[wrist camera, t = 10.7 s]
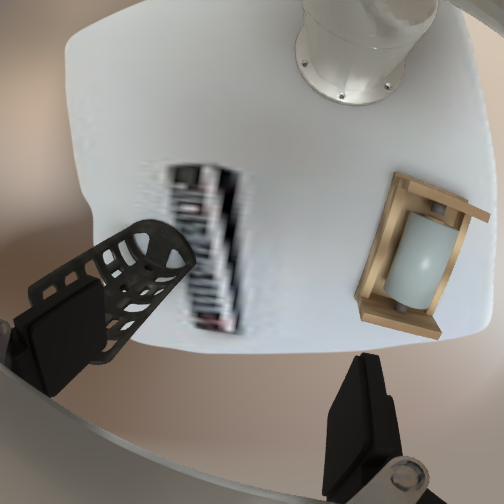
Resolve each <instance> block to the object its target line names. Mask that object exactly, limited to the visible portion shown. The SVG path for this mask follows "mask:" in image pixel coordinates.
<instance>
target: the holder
mask: <svg viewBox="0 0 504 504" xmlns="http://www.w3.org/2000/svg"><path fill="white" fill-rule="evenodd" d="M137 233H147V234H148V235H149V239H150V240H149V244H148V249H147V253H146V256H145V257H144V256H143V255H142V254H141V252H140V251H139V250H138V248H137V246H136V244H135V242H134V239H133V234H137ZM123 240H124V241H125V243H126V245H127V247H128V250H129V252H130V254H131V256H132V257H133V259H134V260H135V262H136V263H135V264H133V265H132V266H129V265H128V264H127V263H126V262H125V260H124V259H123V257H122V255H121V253H120V250H119V247H118V244H119V243H120V242H122V241H123ZM108 249H110V251H111V253H112V255H113V258H114V261H112V262H111V263H109V264H107V265H106V264H105V262H104V260H103V252H105V251H106V250H108ZM171 249H175V250H176V251H178V253H179V254H180V255H181V257H182V258H183V260H184V262H185V263H186V266H184V267H182V268H179V269H166V268H164V267H165V265H166V262H167V259H168V257H169V254H170V251H171ZM92 259H93V261H94V262H95V265H96V267H97V269H98V271H99V274H100V275H101V277H102V279H103V281H104V282H105V284H106V286H104V304H105V319H106V326H107V325H108V324H109V323H110V322H111V321H112V320H117V321H118V322H117V323H116V324H115V325H113V326H112V327H111V328H109V329H108V328H106V331H107V340H118V341H117V342H116V343H115V345H114V346H113V347H112V348H111V349H110V350H108V351H106V352H100V353H99V354H98V355H97V356H96V357H95V358H94V359H93V360H92V361H91V362H90V363H89V364H93V365H101V364H106V363H108V362H110V361H111V360H112V359H113V358H114V357H115V355H116V354H117V353H118V352H119V351H120V349H121V348H122V347H123V346H124V345H125V343H126V342H127V341H128V340H129V339H130V338H131V336H132V335H133V334H134V333H135V332H136V331H137V329H138V328H139V327H140V326H141V325H142V324H143V323H144V321H145V320H146V319H147V318H148V317H149V316H150V314H151V313H152V312H153V311H154V310H155V309H156V308H157V306H158V305H159V304H160V303H161V302H162V301H163V300H164V298H165V297H166V296H167V295H168V294H169V293H170V292H171V290H172V289H173V288H174V287H175V286H176V285H177V284H178V283H179V282H180V281H181V279H182V278H183V277H184V276H185V275H186V274H187V273H188V272H189V271H190V270H191V269H192V268H193V266H194V265H195V264H196V260H195V256H194V254H193V252H192V250H191V248H190V247H189V245H188V244H187V242H186V241H185V240H184V238H183V237H182V236H181V235H180V234H178V233H177V232H176V231H175V230H174V229H172V228H171V227H169V226H167V225H165V224H163V223H162V222H158V221H154V220H142V221H139V222H136V223H134V224H132V225H131V226H129V227H128V228H126V229H124V230H123V231H121V232H119V233H117V234H115V235H114V236H112V237H110V238H108V239H106V240H105V241H103V242H101V243H99V244H98V245H96V246H94V247H93V248H91V249H89V250H88V251H86V252H84V253H82V254H81V255H79V256H77V257H76V258H74V259H72V260H71V261H69V262H67V263H66V264H64V265H62V266H61V267H59V268H57V269H56V270H54V271H53V272H51V273H49V274H48V275H46V276H45V277H43V278H42V279H40V280H38V281H37V282H35V283H34V284H32V285H31V286H30V287H29V288H28V299H29V302H30V304H31V306H32V307H33V306H35V305H36V304H38V303H39V302H41V301H43V291H45V290H46V289H47V288H49V287H50V286H52V285H53V286H54V287H55V288H56V290H57V291H59V290H61V289H62V288H64V287H66V285H65V277H66V276H67V275H69V274H70V273H72V272H73V271H74V272H75V273H76V275H77V278H78V279H79V278H81V277H83V276H84V275H87V274H86V272H85V268H84V267H85V264H86V263H87V262H89V261H91V260H92ZM117 270H119V271H121V272H122V273H121V274H120V275H119V276H117V277H116V278H114V277H113V276H112V275H111V274H112V273H114V272H115V271H117ZM174 276H176V277H175V278H173V279H172V280H169V281H166V282H155V280H156V279H157V278H160V277H164V278H168V277H174ZM161 289H164V290H163V291H162V292H160V293H159V294H157V295H154V294H155V293H156V292H157V291H159V290H161ZM123 290H125V291H127V292H122V291H123ZM144 290H149V291H148V292H147V293H146V294H145V295H140V294H141V293H142V292H143V291H144ZM129 304H138V305H140V304H150V305H149V306H148V307H147V308H146V309H144V310H143V311H139V312H127V311H124V309H125V308H126V307H127V306H128V305H129ZM131 321H135V322H134V323H133V324H132V325H131V326H130V327H129V328H127V329H126V330H120V329H121V328H122V327H123V326H124V325H125V324H126V323H128V322H131Z"/></svg>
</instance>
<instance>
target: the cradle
mask: <svg viewBox="0 0 504 504" xmlns="http://www.w3.org/2000/svg"><path fill="white" fill-rule="evenodd" d="M410 211H414V212H418V213H421V214H424V215H430V216H432V217H435V218H437V219H440V220H442V221H444V222H445V223H446V224H448V225H450V226H452V227H454V228H456V229H457V230H459V233H458V236H457V239H456V242H455V245H454V247H453V250H452V253H451V256H450V258H449V261H448V263H447V266H446V268H445V271H444V273H443V276H442V278H441V281H440V283H439V285H438V288H437V290H436V292H435V295H434V297H433V299H432V301H431V303H430V306H429V307H428V308H427V309H416V308H412V307H409V306H406V305H404V304H402V303H400V302H398V301H396V300H394V299H393V298H392V297H390V296H389V295H388V294H387V293H386V292H385V291H384V289H383V286H384V284H385V281H386V279H387V276H388V273H389V271H390V268H391V266H392V263H393V260H394V257H395V255H396V252H397V249H398V246H399V243H400V241H401V238H402V235H403V232H404V229H405V226H406V223H407V219H408V216H409V213H410ZM472 216H473V217H475V218H478V219H480V220H482V221H484V222H487V223H488V221H489V218H490V213H488V212H485V211H483V210H481V209H479V208H477V207H474V206H472V205H470V204H468V200H466V199H464V198H462V197H459V196H457V195H455V194H452V193H450V192H447V191H445V190H443V189H440V188H438V187H435V186H433V185H430V184H427V183H425V182H422V181H420V180H417V179H414V178H412V177H409V176H406V175H403V174H401V173H398V172H395V173H394V176H393V180H392V184H391V187H390V191H389V194H388V198H387V201H386V205H385V208H384V211H383V215H382V218H381V221H380V224H379V227H378V230H377V233H376V237H375V240H374V243H373V246H372V248H371V251H370V254H369V257H368V260H367V263H366V266H365V268H364V271H363V274H362V277H361V279H360V282H359V285H358V287H357V290H356V293H355V295H354V299H355V300H357V303H358V308H359V313H360V318H361V321H364V322H368V323H372V324H376V325H380V326H383V327H387V328H391V329H395V330H399V331H403V332H407V333H411V334H415V335H419V336H423V337H427V338H432V339H436V340H438V339H439V337H440V335H441V334H442V332H441V330H440V328H439V327H438V325H437V323H436V322H435V320H434V318H433V316H432V315H433V313H434V311H435V309H436V307H437V305H438V303H439V300H440V298H441V296H442V294H443V292H444V289H445V287H446V285H447V282H448V280H449V277H450V275H451V273H452V270H453V268H454V265H455V263H456V260H457V257H458V255H459V252H460V249H461V247H462V244H463V241H464V238H465V235H466V232H467V229H468V226H469V223H470V220H471V217H472Z"/></svg>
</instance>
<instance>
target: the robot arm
mask: <svg viewBox="0 0 504 504" xmlns="http://www.w3.org/2000/svg"><path fill="white" fill-rule="evenodd" d="M446 1H448V2H450V3H451V4H453V5H455V6H457V7H458V8H460V9H462V10H463V11H465V12H467V13H468V14H470V15H471V16H473V17H475V18H476V19H478V20H479V21H481V22H483V23H484V24H485V25H487V26H488V27H490V28H491V29H493V30H494V31H495V32H497V33H498V34H499V35H501V36H502V37H504V0H446ZM301 2H302V8H303V14H304V20H305V25H304V26H303V27H302V29H301V30H300V32H299V34H298V37H297V40H296V46H295V54H296V61H297V65H298V67H299V70H300V72H301V74H302V76H303V77H304V79H305V80H306V82H307V83H308V84H309V85H310V86H311V87H312V88H313V89H314V90H315V91H317V92H318V93H319V94H321V95H322V96H324V97H326V98H328V99H330V100H332V101H334V102H337V103H340V104H344V105H351V106H364V105H369V104H374V103H376V102H378V101H381V100H383V99H384V98H386V97H387V96H389V95H390V94H391V93H392V92H393V91H394V90H395V89H396V87H397V86H398V85H399V83H400V81H401V79H402V76H403V73H404V67H405V62H404V57H405V55H406V54H407V53H408V52H409V51H410V50H411V48H412V47H413V46H414V45H415V44H416V43H417V41H418V40H419V39H420V38H421V37H422V36H423V34H424V33H425V32H426V31H427V29H428V28H429V27H430V25H431V24H432V22H433V20H434V18H435V16H436V12H437V9H438V2H439V0H301ZM303 64H307V66H306V67H304V66H303ZM385 86H387V87H388V90H386V89H385ZM340 95H343V96H344V98H343V99H341V98H340V97H339V96H340ZM13 320H14V325H15V327H14V328H11V325H10V323H9V322H8V321H6V320H3V319H0V504H447V503H446V502H444V501H443V500H441V499H440V498H439V497H438V496H436V495H435V494H434V493H433V492H431V491H430V490H429V489H428V488H427V487H428V484H429V478H430V477H429V473H428V470H427V468H426V467H425V466H424V464H423V463H421V462H420V461H419V460H417V459H415V458H413V457H409V456H403V454H402V447H401V440H400V434H399V428H398V422H397V417H396V412H395V406H394V401H393V398H392V397H391V396H390V395H387V393H386V388H385V382H384V377H383V372H382V367H381V363H380V358H379V356H378V355H374V354H369V353H362V354H361V355H360V356H355V357H354V359H353V361H352V364H351V366H350V368H349V370H348V373H347V375H346V377H345V379H344V381H343V383H342V385H341V388H340V390H339V392H338V394H337V396H336V398H335V400H334V402H333V404H332V406H331V408H330V410H329V413H328V419H327V437H326V453H325V465H324V477H323V487H322V495H323V496H327V500H326V501H322V500H317V499H311V498H306V497H301V496H296V495H290V494H285V493H280V492H275V491H271V490H267V489H262V488H258V487H254V486H250V485H247V484H242V483H239V482H235V481H232V480H228V479H224V478H221V477H217V476H215V475H211V474H208V473H205V472H202V471H199V470H196V469H193V468H190V467H187V466H185V465H182V464H179V463H177V462H174V461H171V460H169V459H166V458H164V457H161V456H159V455H156V454H154V453H152V452H149V451H147V450H145V449H142V448H140V447H138V446H136V445H134V444H132V443H129V442H127V441H125V440H123V439H121V438H119V437H117V436H115V435H113V434H111V433H109V432H107V431H105V430H103V429H101V428H99V427H97V426H96V425H94V424H92V423H90V422H88V421H87V420H85V419H83V418H81V417H80V416H78V415H76V414H75V413H73V412H71V411H70V410H68V409H66V408H65V407H63V406H61V405H60V404H58V403H57V402H55V401H53V400H52V399H50V398H51V397H54V396H56V395H57V394H58V393H59V392H60V391H61V390H62V389H63V388H64V387H65V386H66V385H67V384H68V383H69V382H70V381H71V380H72V379H73V378H74V377H75V376H76V375H77V374H78V373H80V372H81V370H83V369H84V368H85V367H86V366H87V365H88V364H89V363H90V362H91V361H92V360H93V359H94V358H95V357H96V356H97V355H98V354H99V353H100V352H101V351H102V350H103V349H104V348H105V347H106V345H107V331H106V319H105V304H104V287H103V285H102V284H101V281H100V279H98V278H96V277H93V276H90V275H84V276H83V277H81V278H79V279H77V280H76V281H74V282H72V283H71V284H69V285H67V286H66V287H64V288H62V289H61V290H59V291H57V292H56V293H54V294H53V295H51V296H49V297H48V298H46V299H44V300H43V301H41V302H39V303H38V304H36V305H35V306H33V307H31V308H30V309H28V310H27V311H25V312H24V313H22V314H20V315H19V316H17V317H16V318H14V319H13Z"/></svg>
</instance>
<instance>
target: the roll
mask: <svg viewBox="0 0 504 504" xmlns="http://www.w3.org/2000/svg"><path fill="white" fill-rule="evenodd" d="M458 233H459V230H457V229H456V228H454V227H452V226H450V225H448V224H446V223H445V222H444V221H442V220H440V219H437V218H435V217H432V216H430V215H424V214H421V213H418V212H414V211H410V213H409V216H408V219H407V223H406V226H405V229H404V232H403V235H402V238H401V241H400V243H399V246H398V249H397V252H396V255H395V257H394V260H393V263H392V266H391V268H390V271H389V273H388V276H387V279H386V281H385V284H384V286H383V289H384V291H385V292H386V293H387V294H388V295H389V296H390V297H392V298H393V299H394V300H396V301H398V302H400V303H402V304H404V305H406V306H409V307H412V308H416V309H427V308H428V307H429V306H430V303H431V301H432V299H433V297H434V295H435V292H436V290H437V288H438V285H439V283H440V281H441V278H442V276H443V273H444V271H445V268H446V266H447V263H448V261H449V258H450V256H451V253H452V250H453V247H454V245H455V242H456V239H457V236H458Z"/></svg>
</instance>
